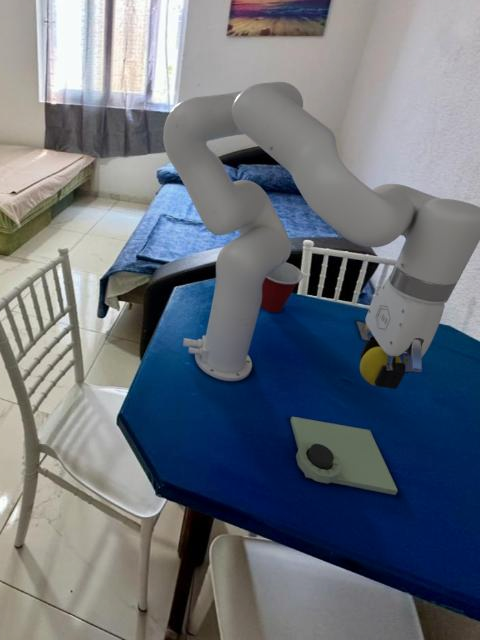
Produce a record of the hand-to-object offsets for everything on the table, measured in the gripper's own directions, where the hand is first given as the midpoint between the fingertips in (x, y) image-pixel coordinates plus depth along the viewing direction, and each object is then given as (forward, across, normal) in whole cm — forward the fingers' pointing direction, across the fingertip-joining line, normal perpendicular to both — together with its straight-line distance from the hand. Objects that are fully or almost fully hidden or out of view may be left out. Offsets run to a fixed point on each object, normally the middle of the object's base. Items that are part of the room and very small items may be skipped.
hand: (377, 371), depth 69 cm
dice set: (+17, -35, +19) cm, 43 cm away
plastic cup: (+17, -42, -6) cm, 45 cm away
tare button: (+14, +8, -8) cm, 18 cm away
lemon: (+3, 0, 0) cm, 3 cm away
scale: (+16, +4, -3) cm, 17 cm away
